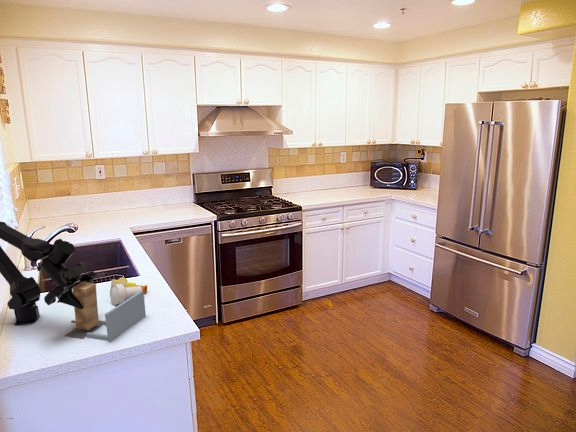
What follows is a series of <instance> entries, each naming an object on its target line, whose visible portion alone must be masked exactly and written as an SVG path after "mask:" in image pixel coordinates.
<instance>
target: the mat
mask: <svg viewBox="0 0 576 432" xmlns="http://www.w3.org/2000/svg"><path fill="white" fill-rule="evenodd" d="M98 320H99V324H98V325H96V326H94V327H93V328H91V329H90V330H84V329H79V328H76V327H75V328H74V329H72V330H70V331H69V332H67V333H66V334H64V337H69V338H73V339H80V340H84V339H85V338H88V337H87V335H86V333H88V332H91V333H95V332H96V331H97V330H99V329H100V328H102V327H103V326H105V325H104V322H105V321H106V320H100V319H98Z"/></svg>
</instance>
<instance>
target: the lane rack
mask: <svg viewBox="0 0 576 432" xmlns="http://www.w3.org/2000/svg"><path fill="white" fill-rule="evenodd" d="M145 304H146V303H145V294H144V293H143V291H140V292H138V293H137V294H135V295H134V296H132V297H130V298H129V299H126V300H125V301H124V302H123V303H121V304H118V305H116V306H115V307H113V308H111V309H110V310H109V311H107V312H105V313H104V318H105V320H104V321H105V322H104V325H103V326H105V327H106V334H104V333H103V334H102V333H96V332H92V333H91V332H88V333H86V335H87V337H86V338H88V339H94V340H99V341H100V340H101V341H102V340H103V341H108V343H112V342H113V341H115V340H117V338H118V337H119V336H121V335H123V334H124V333H126V331H127V330H129V329H130V328H132V327H133V326H135V325H136V324H137V323H138V322H140V321H141V320H143V319H144V318H145V317H146V316H147V315H146V314H147V313H146V305H145Z"/></svg>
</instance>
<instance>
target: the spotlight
mask: <svg viewBox="0 0 576 432" xmlns="http://www.w3.org/2000/svg"><path fill="white" fill-rule="evenodd" d="M141 286H142V285H140V286H135V287H124V286H123V285H122V284H113V285H112V286H111V285H110V289H109V298H110V302H111V304H112V305H113V306H115V305H116V306H118V305H120V304H121V303H123V302H124V301H126V300H127V299H129V298H130V297H132V296H134V295H135V294H137V293H138V292H140V291H142V288H141Z"/></svg>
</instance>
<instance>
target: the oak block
mask: <svg viewBox="0 0 576 432" xmlns="http://www.w3.org/2000/svg"><path fill="white" fill-rule="evenodd" d="M73 286H74V285H73ZM72 288H73V289H72V291H73V295H74V296H75V297H76V298H77V299H78V301H79V302H80V303H81V304H82V306H83V309H79V308H76V307H73V308H74V318H75V320H70V323H72V324H75V328H79V329H84V330H90V329H91V328H93V327H94V326H96V325H98V324H99V320H100V319H99V310H98V309H99V308H98V298H97V297H98V295H97V284H96V283H92V282H91V283H88V282H82V283H80V284H78V285H76V286H74V287H72Z"/></svg>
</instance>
